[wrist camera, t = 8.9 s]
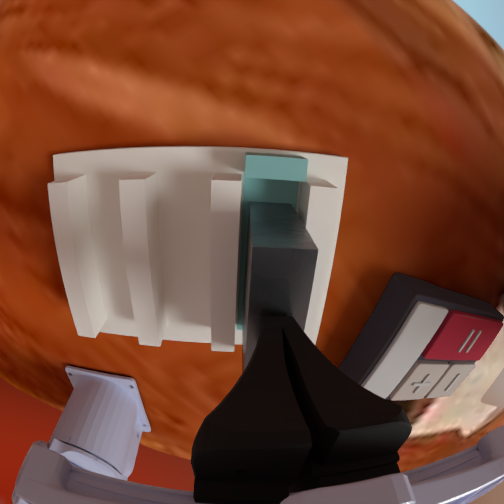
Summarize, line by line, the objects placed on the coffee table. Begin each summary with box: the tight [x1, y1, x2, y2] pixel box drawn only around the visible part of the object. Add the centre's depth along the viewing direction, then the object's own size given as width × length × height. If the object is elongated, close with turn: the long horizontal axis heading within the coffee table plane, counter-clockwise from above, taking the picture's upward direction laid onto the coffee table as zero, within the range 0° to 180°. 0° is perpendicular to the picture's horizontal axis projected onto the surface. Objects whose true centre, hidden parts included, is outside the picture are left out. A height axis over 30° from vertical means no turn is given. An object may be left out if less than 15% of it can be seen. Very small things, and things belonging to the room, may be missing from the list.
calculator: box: [338, 273, 504, 400], centre depth 23 cm, size 11×4×15 cm
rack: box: [48, 146, 348, 352], centre depth 18 cm, size 14×19×4 cm
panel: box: [242, 201, 318, 373], centre depth 16 cm, size 9×2×7 cm, turn 177°
